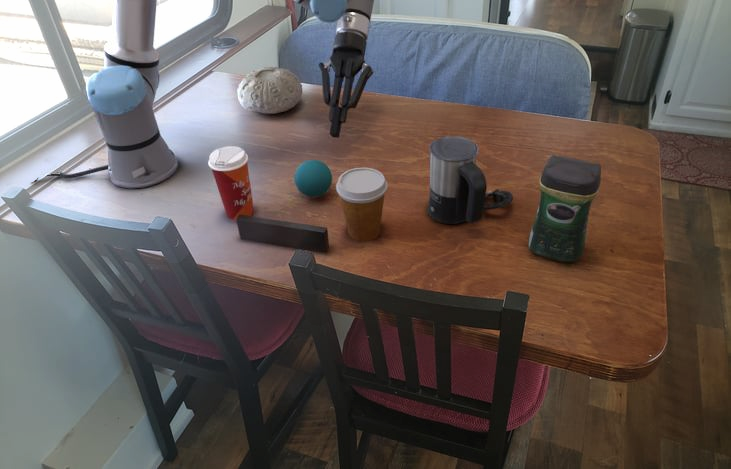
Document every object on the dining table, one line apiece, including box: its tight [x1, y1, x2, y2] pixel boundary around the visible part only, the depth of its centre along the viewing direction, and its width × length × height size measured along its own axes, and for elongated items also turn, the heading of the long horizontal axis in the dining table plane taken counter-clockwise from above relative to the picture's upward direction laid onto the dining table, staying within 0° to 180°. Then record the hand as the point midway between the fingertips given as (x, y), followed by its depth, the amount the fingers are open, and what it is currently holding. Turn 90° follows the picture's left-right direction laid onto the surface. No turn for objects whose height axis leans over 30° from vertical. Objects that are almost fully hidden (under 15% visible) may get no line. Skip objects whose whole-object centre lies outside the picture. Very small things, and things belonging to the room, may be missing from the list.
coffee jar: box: [528, 154, 602, 263], centre depth 95 cm, size 10×8×19 cm
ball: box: [293, 159, 333, 198], centre depth 115 cm, size 8×8×8 cm
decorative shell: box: [237, 66, 303, 115], centre depth 149 cm, size 18×18×10 cm
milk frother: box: [427, 136, 514, 225], centre depth 106 cm, size 14×16×15 cm
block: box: [235, 214, 330, 254], centre depth 103 cm, size 18×2×5 cm, turn 74°
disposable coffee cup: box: [335, 167, 388, 242], centre depth 103 cm, size 10×10×12 cm
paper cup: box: [207, 145, 255, 222], centre depth 109 cm, size 8×8×14 cm
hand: (334, 135), depth 124 cm, fingers closed
